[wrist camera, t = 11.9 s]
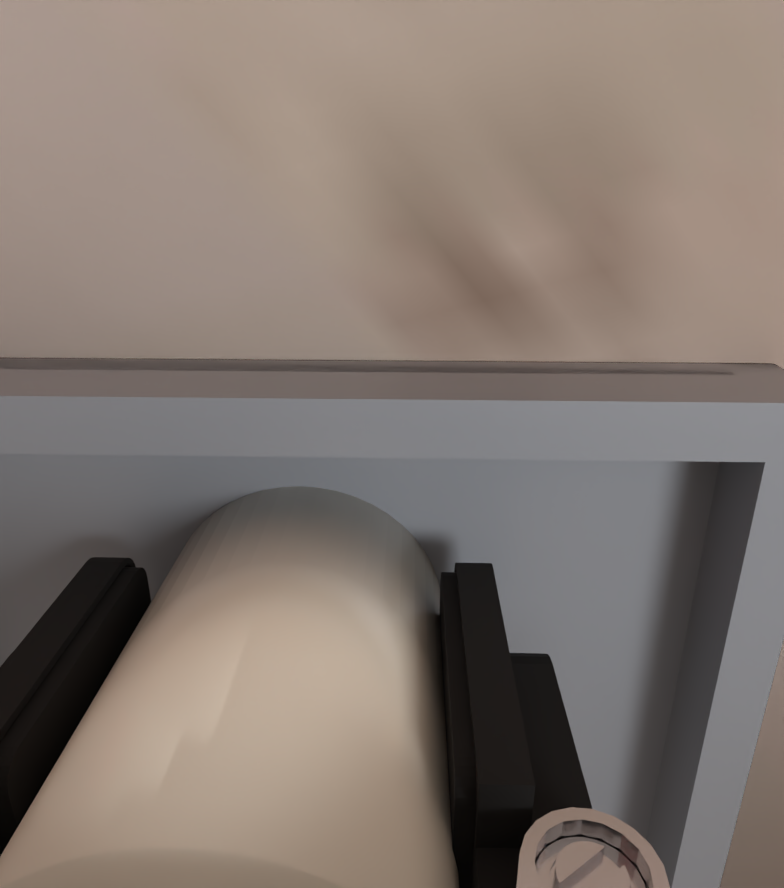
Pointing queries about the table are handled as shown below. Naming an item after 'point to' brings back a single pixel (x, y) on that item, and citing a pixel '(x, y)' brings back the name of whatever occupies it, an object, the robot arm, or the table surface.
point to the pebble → (262, 718)
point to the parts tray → (466, 526)
